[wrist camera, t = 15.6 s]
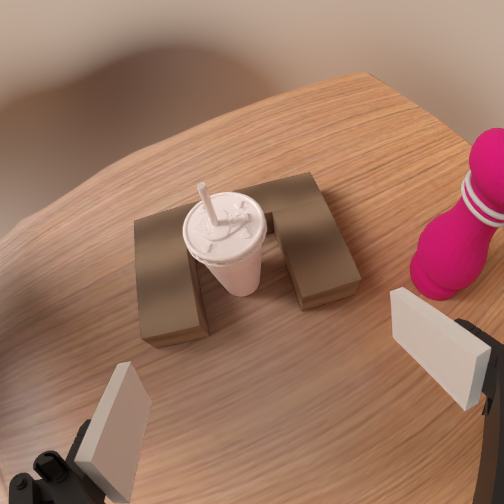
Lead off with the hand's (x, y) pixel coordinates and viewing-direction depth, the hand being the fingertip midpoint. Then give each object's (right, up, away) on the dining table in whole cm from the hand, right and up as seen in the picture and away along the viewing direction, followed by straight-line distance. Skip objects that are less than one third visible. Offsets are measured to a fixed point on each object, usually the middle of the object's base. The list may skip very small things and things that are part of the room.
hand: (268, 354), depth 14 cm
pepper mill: (+19, +2, +15) cm, 24 cm away
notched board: (-2, +4, +18) cm, 19 cm away
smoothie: (-2, +2, +18) cm, 18 cm away
